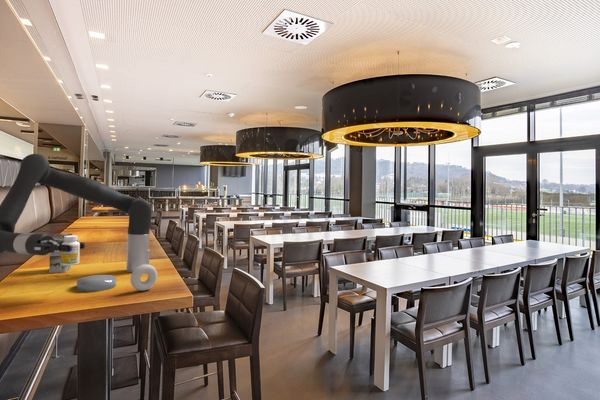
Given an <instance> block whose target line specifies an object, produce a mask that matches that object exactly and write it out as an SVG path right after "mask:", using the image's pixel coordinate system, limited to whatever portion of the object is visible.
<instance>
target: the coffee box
mask: <svg viewBox="0 0 600 400" xmlns="http://www.w3.org/2000/svg"><path fill="white" fill-rule="evenodd" d="M69 235H73V233H55V234H52V235H51V236H52V238H53V239H60V240H64V236H69ZM48 266H49V270H48V272H49V274H53V273H55V274H58V273H67V272H68V271H69V270H71V269H72V265H62V264H61V251H60V252H53V253H49V265H48Z"/></svg>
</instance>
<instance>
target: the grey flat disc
mask: <svg viewBox="0 0 600 400" xmlns="http://www.w3.org/2000/svg"><path fill="white" fill-rule="evenodd" d="M116 286H117V276H115V275H111V274H94V275H88V276H84V277H79V278H77V279H76V290H77V291H78V292H87V293H88V292H91V293H96V292H102V291H107V290H111V289H114V288H115V287H116Z"/></svg>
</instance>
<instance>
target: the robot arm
mask: <svg viewBox="0 0 600 400" xmlns="http://www.w3.org/2000/svg"><path fill="white" fill-rule="evenodd" d="M50 166H51V165H50V162H49V160H48V159H47V158H46V157H45V156H44V155H43V154H38V153H31V154H28V155H26V156H25V157H23V158H22V159H21V162H20V165H19V171H18V174H17V176H16V177H15V180H14V183H12V185H11V187H10V189H9V191H8V192H7V194H6V195H5V196H4V199H3V200H2V201H1V203H0V254H1V253H4V252H7V253H13V254H22V255H32V256H41V257H42V256H47V255H50V253H53V252H60V251H64V252H70V251H72V246H71V245H61V244H62V243H63V242H65V241H64V240H60V239H53V238H52V235H50V234H47V233H35V232H26V233H25V232H24V233H23V232H15V230H16V225H17V223H18V221H19V219H20V218H21V215H22V214H23V213H24V212H23V211H24V210H25V208H26V206H27V204H28V201H29V199H30V196H31V194H32V192H33V191H34V188H35V187H36V186H37V184H41V185H44V186H47V187H48V186H49V187H52V188H54V189H57V190H60V191H62V192H65V193H67V194H70V195H72V196H74V197H77V198H79V199H82V200H85V201H88V202H91V203H94V204H97V205H101V206H105V207H110V208H113V209H116V210H119V211H120V212H123V213H124V214H126V215H128V217H129V218H128V227H127V240H126V242H127V243H126V244H127V245H126V271H125V272H128V273H133V271H134V270H135V269H136V268H137V267H139V266H140V265H144V264H148V265H150V255H151V252H150V231H151V230H150V229H151V226H152V225H151V224H152V206H151V204H150V202H148V201H147V200H145V199H142V198H137V197H133V196H130V195H127V194H124V193H121V192H119V191H118V190H115V189H114V188H113V187H110V185H109V186H108V185H107V184H104V183H103V182H100V181H98V180H95V179H94V178H93V179H92V178H91V177H90V178H89V177H87V176H81V175H75V174H68V173H65V172H61V171H59V170H57V169H55V168H52V167H50ZM77 242H79V243H80V250H84V249H85V248H86V244H85V242H82V241H79V240H77Z"/></svg>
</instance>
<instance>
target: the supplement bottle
mask: <svg viewBox="0 0 600 400" xmlns="http://www.w3.org/2000/svg"><path fill="white" fill-rule="evenodd" d="M78 237H79V236H78V235H75V234H72V235H69V236H64V241H65V242H63V243H62V244H61V245H71V246H72V251H70V252H64V251H61V264H62V265H71V266H75V265H78V264H80V260H81V259H80V257H81V256H80V255H81V254H80V253H81V249H80V243H79V242H80V241H79V240H78V239H79V238H78ZM77 240H78V242H77Z"/></svg>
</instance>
